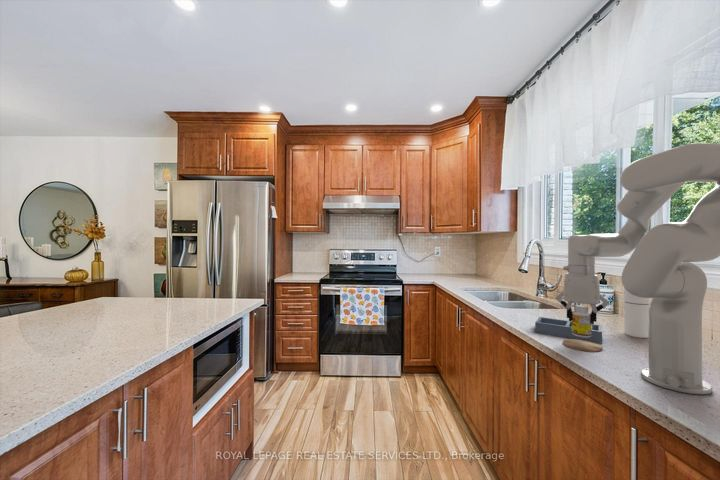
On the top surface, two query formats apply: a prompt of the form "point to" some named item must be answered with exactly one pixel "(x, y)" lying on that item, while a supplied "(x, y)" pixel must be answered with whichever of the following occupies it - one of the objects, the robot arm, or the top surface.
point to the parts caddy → (565, 329)
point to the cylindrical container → (636, 315)
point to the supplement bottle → (581, 321)
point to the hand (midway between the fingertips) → (581, 321)
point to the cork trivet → (582, 345)
